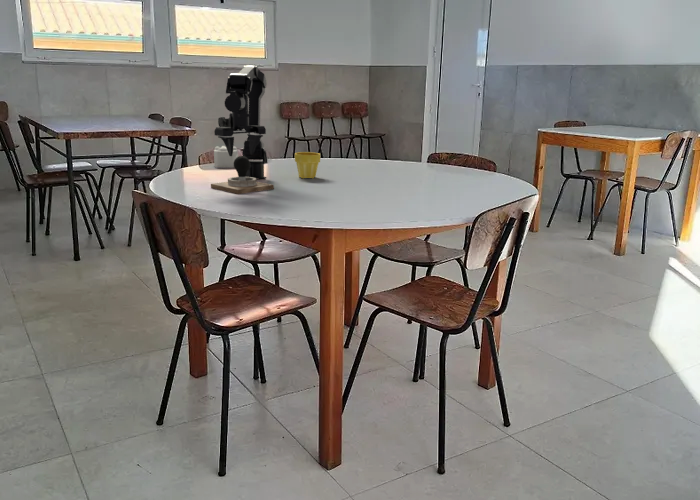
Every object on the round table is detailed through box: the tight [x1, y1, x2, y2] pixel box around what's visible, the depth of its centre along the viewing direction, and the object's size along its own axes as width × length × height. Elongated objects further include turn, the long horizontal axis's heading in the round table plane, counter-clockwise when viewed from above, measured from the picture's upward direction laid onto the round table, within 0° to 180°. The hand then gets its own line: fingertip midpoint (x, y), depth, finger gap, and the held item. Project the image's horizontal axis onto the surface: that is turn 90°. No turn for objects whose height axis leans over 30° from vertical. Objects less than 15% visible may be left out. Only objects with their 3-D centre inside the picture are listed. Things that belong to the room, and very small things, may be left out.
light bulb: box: [234, 155, 250, 181], centre depth 225 cm, size 6×6×10 cm
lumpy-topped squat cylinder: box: [213, 145, 239, 169], centre depth 282 cm, size 10×13×9 cm
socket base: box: [210, 176, 275, 195], centre depth 226 cm, size 16×16×4 cm
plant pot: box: [294, 151, 321, 179], centre depth 254 cm, size 10×10×10 cm
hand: (241, 155), depth 224 cm, fingers open, 9 cm apart
